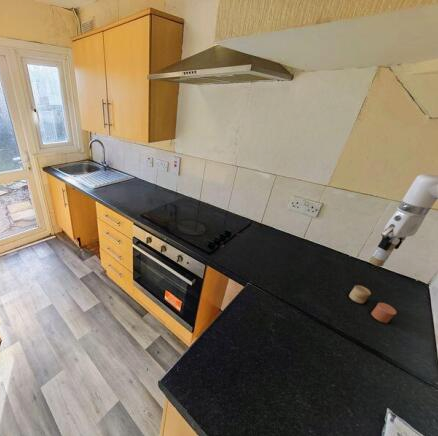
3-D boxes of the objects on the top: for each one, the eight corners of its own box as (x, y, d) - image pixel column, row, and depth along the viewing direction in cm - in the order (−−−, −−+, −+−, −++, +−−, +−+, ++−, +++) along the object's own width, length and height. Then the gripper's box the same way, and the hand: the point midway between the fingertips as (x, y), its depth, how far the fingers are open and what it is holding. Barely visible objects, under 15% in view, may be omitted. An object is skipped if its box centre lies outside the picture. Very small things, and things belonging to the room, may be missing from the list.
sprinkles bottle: (374, 259, 99) (390, 233, 93) (385, 266, 96) (403, 239, 89) (366, 260, 99) (381, 235, 92) (377, 267, 95) (394, 241, 88)
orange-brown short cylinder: (377, 310, 89) (384, 301, 87) (392, 321, 85) (400, 312, 82) (367, 312, 88) (374, 303, 86) (382, 324, 84) (389, 315, 81)
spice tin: (355, 292, 97) (361, 284, 94) (367, 302, 93) (374, 293, 90) (345, 294, 96) (351, 286, 93) (357, 304, 92) (364, 295, 89)
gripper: (408, 214, 79) (381, 256, 88) (443, 210, 82) (414, 251, 91) (384, 205, 85) (361, 244, 94) (418, 202, 88) (392, 240, 97)
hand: (387, 247), depth 92 cm, fingers closed on sprinkles bottle, 4 cm apart
